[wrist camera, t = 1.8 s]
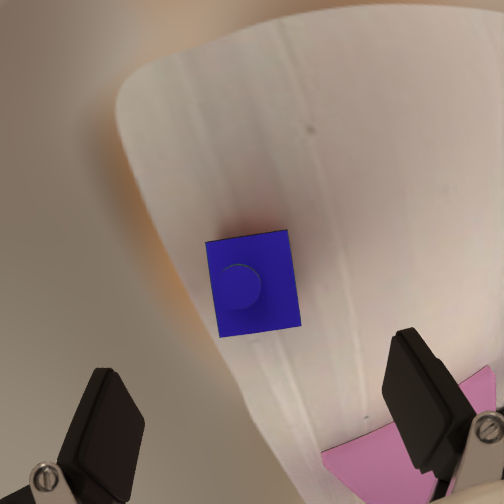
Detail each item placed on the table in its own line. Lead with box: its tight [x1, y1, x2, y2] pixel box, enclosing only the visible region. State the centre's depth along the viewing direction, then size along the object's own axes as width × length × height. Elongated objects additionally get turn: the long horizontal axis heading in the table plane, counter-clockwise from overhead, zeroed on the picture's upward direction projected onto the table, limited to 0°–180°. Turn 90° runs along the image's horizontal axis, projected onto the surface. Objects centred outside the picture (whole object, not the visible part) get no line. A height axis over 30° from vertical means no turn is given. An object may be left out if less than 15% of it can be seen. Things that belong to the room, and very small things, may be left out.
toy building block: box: [205, 229, 302, 338], centre depth 14 cm, size 4×4×8 cm
